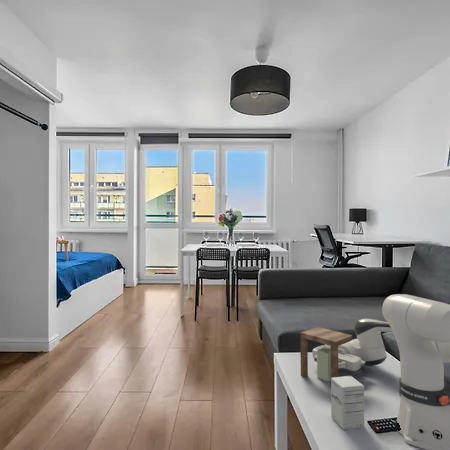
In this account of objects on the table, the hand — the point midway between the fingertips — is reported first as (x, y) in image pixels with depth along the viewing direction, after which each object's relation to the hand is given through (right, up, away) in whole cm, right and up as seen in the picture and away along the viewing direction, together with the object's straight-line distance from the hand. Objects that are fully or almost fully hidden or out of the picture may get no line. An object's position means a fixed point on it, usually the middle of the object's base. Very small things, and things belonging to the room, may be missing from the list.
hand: (325, 363), depth 141 cm
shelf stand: (0, -6, 0) cm, 6 cm away
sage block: (0, -6, 0) cm, 6 cm away
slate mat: (+9, -6, +7) cm, 13 cm away
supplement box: (-2, -6, -32) cm, 33 cm away
